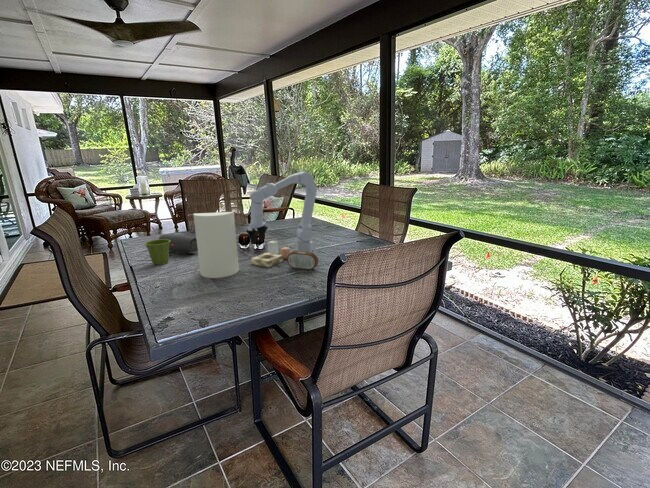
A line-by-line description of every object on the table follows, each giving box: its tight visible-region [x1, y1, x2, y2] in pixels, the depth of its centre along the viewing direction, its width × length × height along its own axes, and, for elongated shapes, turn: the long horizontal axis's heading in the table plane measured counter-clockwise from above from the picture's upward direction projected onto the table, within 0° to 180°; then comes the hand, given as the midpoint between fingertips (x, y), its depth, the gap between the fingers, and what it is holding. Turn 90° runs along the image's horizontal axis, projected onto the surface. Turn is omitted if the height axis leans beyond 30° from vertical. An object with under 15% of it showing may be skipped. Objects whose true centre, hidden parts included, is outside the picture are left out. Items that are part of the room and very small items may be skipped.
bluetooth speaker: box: [158, 234, 198, 254], centre depth 188 cm, size 23×9×10 cm, turn 68°
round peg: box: [280, 246, 291, 260], centre depth 176 cm, size 5×5×5 cm
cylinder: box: [192, 211, 240, 279], centre depth 154 cm, size 17×17×28 cm
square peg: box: [267, 240, 280, 255], centre depth 183 cm, size 4×4×7 cm
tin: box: [286, 250, 319, 271], centre depth 158 cm, size 15×3×8 cm, turn 71°
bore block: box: [250, 252, 284, 268], centre depth 169 cm, size 11×11×3 cm
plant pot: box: [144, 238, 170, 265], centre depth 170 cm, size 12×12×11 cm
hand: (257, 242), depth 167 cm, fingers open, 7 cm apart
